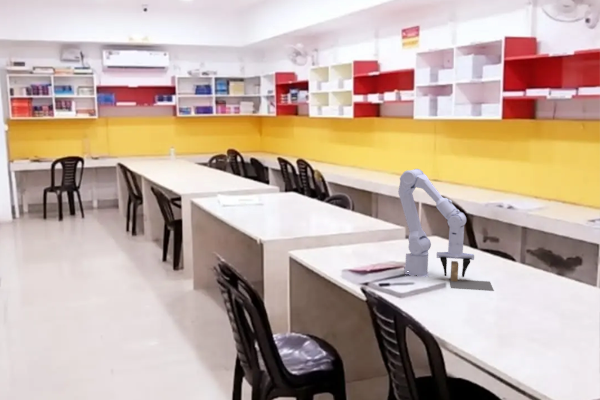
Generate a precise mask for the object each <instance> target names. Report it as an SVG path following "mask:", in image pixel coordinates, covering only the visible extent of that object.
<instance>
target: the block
mask: <svg viewBox="0 0 600 400" xmlns="http://www.w3.org/2000/svg"><path fill="white" fill-rule="evenodd" d="M450 265H451V266H450V279H451V281H457V282H458V280H459V279H458V278H459V277H458V276H459V262H458V261H456V260H454V261H453V260H451V262H450Z"/></svg>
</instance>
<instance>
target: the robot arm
mask: <svg viewBox="0 0 600 400" xmlns="http://www.w3.org/2000/svg"><path fill="white" fill-rule="evenodd" d="M416 188H418V189H422V190H423V191H424V192H425V193H426V194H427V195H428V196H429V197H430V198H431V199H432V200H433V201H434V202H435V206H436V207H435V208H436V209H437V210H438V211H439V212H440V214H441V215H442V216H443V218H445V220H447V221H446V222H447V224H448V227H449V228H448V229H449V232H448V244H447V245H448V248H447V250H448V251H442V252H441V251H439V252H438V251H437V252H436V258H437V259H440V262H441V265H442V268H443V272H444V277H447V265H448V264H447V263H448V259H454V260H455V259H456V260H457V259H459V260H462V271H461V272H462V273H461V277H462V278H465V274H466V271H467V268H468V267H469V265H470V263H471V261H474V260H475V254H474V253H466V252H465V253H464V241H465V240H464V239H465V225H466V223H467V217H466V215H465V213H464V212H462V211H460V210H459V209H458V208H457V207H456V206H455V204H453V200H452V199H449V198H447V197H443V196H442V195H441V193H440V192H439V191H438V190H437V188H436V187H435V186H434V185H433V183H432V182H431V180H430V179H429V177H428V175H427V174H425V173H424V171H422V170H421V169H419V168H413V169H410V170H408V169H407V170H405V171H404V172H402V174H401V175H400V177H399V186H398V196H399V200H400V203H401V207H402V210H403V214H404V218H405V221H406V225H407V228H408V232H409V235H408V250H409V252H410V253H405V263H404V264H405V266H404V270H403V271H404V275H405V274H409V275H413V276H412V277H415V276H414V275H417V276H416V277H423V276H425V277H427V278H428V277H429V271H428V270H429V269H428V268H429V267H428V265H429V250H430V249H431V246H432V242H431V240H430V239H429V238H428V236H427V233H426V232H425V231H424V230H423V227H422V223H421V221H420V217H419V213H418V210H417V209H418V208H417V205H416V202H415V199H414V194H413V193H414V192H415V190H416ZM407 271H409V272H407ZM425 277H424V278H425Z"/></svg>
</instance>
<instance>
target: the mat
mask: <svg viewBox="0 0 600 400" xmlns="http://www.w3.org/2000/svg"><path fill="white" fill-rule="evenodd" d="M448 282H449V285H450V286H449V287H450V289H458V290H473V291H485V292H486V291H490V292H494V291H495V290H494V287H493V285H492V283H491V281H487V280H486V281H485V280H473V279H458V282H457V281H451V278H448Z"/></svg>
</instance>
